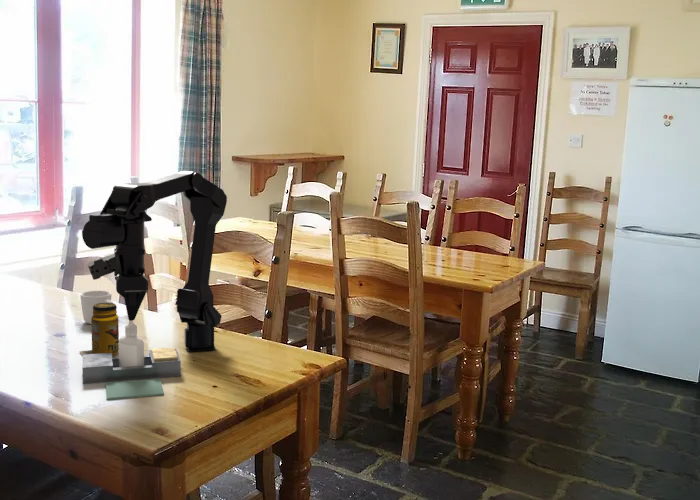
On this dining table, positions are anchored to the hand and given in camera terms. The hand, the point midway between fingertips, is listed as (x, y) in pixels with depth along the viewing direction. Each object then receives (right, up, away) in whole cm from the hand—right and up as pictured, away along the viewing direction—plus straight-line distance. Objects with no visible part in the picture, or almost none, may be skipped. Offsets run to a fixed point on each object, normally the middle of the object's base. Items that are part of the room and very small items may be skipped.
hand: (130, 314), depth 157 cm
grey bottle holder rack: (0, -13, +2) cm, 13 cm away
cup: (-20, -6, +40) cm, 45 cm away
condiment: (-11, -11, +14) cm, 21 cm away
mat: (+3, -15, -8) cm, 17 cm away
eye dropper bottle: (0, -13, +2) cm, 13 cm away
